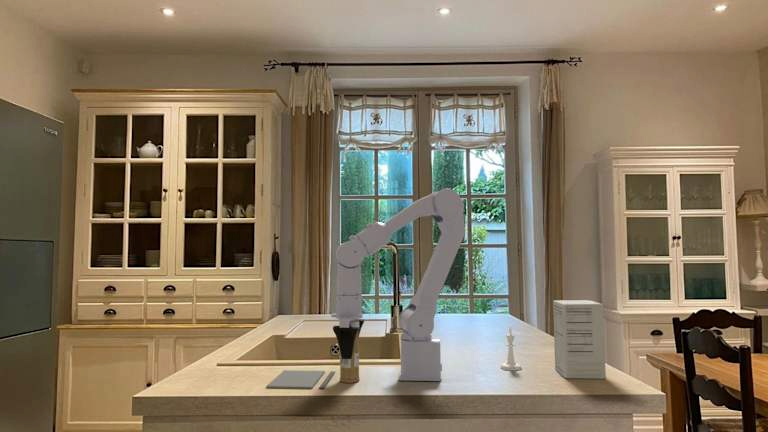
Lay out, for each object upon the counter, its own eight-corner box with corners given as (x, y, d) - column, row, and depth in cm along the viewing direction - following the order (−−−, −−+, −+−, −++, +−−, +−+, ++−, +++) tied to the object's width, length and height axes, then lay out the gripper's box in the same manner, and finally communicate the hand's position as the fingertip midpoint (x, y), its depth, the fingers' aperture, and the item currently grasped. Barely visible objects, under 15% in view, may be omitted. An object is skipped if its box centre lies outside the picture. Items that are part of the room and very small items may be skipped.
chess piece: (500, 369, 129) (499, 328, 130) (501, 365, 134) (500, 325, 134) (521, 371, 128) (520, 329, 129) (521, 366, 133) (520, 325, 133)
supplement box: (606, 379, 120) (604, 304, 121) (565, 379, 120) (563, 304, 121) (592, 369, 129) (590, 299, 130) (553, 369, 130) (552, 299, 131)
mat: (324, 372, 128) (324, 370, 128) (312, 388, 114) (312, 386, 114) (283, 372, 129) (283, 370, 129) (266, 388, 115) (266, 386, 115)
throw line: (335, 372, 128) (335, 371, 128) (323, 388, 114) (323, 387, 114) (331, 372, 128) (331, 371, 128) (319, 388, 114) (319, 387, 114)
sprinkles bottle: (363, 381, 120) (363, 320, 120) (345, 384, 117) (345, 322, 118) (353, 377, 123) (352, 318, 124) (335, 380, 121) (335, 320, 121)
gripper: (337, 291, 129) (337, 348, 128) (325, 297, 114) (325, 361, 114) (366, 291, 128) (366, 348, 127) (358, 297, 114) (358, 362, 113)
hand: (349, 355), depth 120 cm, fingers open, 7 cm apart
